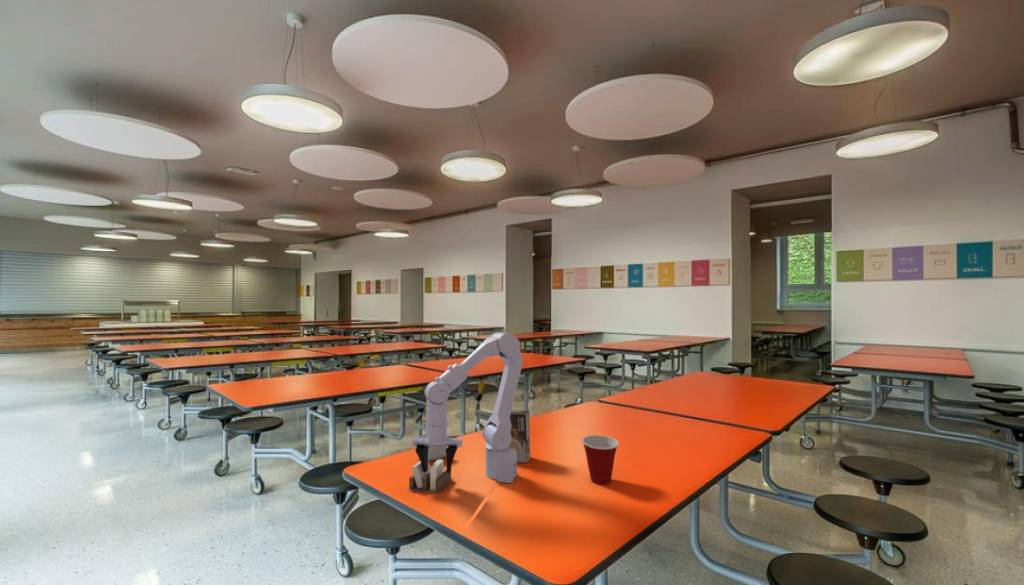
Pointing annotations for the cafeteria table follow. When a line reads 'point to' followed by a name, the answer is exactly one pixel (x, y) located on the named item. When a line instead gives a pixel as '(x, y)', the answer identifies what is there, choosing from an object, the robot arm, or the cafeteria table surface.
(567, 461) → the cafeteria table surface
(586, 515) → the cafeteria table surface
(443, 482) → the rack
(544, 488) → the cafeteria table surface
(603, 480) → the plastic cup
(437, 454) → the teacup
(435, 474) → the white upright slab
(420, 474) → the racked plate
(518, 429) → the coffee box
